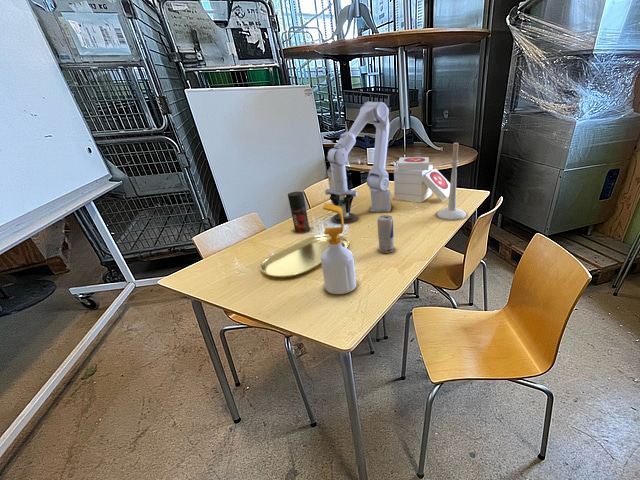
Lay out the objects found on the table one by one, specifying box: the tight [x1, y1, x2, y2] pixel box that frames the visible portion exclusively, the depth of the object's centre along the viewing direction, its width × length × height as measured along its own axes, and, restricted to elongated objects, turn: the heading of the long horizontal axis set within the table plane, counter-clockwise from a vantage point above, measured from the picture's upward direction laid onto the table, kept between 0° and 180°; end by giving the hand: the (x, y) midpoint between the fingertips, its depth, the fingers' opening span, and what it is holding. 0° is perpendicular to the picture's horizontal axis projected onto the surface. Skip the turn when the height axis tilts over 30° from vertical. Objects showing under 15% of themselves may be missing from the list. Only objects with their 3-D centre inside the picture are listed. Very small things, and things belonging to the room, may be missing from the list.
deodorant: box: [287, 191, 311, 234], centre depth 134 cm, size 6×6×15 cm
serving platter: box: [259, 234, 350, 279], centre depth 116 cm, size 19×35×2 cm, turn 148°
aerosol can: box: [326, 166, 346, 205], centre depth 160 cm, size 7×7×20 cm
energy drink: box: [376, 214, 395, 254], centre depth 117 cm, size 5×5×12 cm
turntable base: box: [331, 213, 358, 225], centre depth 148 cm, size 11×11×1 cm
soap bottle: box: [321, 202, 357, 295], centre depth 92 cm, size 9×9×25 cm
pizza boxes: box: [393, 156, 451, 203], centre depth 168 cm, size 19×30×18 cm, turn 65°
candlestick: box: [436, 142, 467, 221], centre depth 142 cm, size 13×13×30 cm
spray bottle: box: [333, 199, 355, 221], centre depth 146 cm, size 9×9×8 cm
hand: (343, 211), depth 146 cm, fingers closed on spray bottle, 4 cm apart
